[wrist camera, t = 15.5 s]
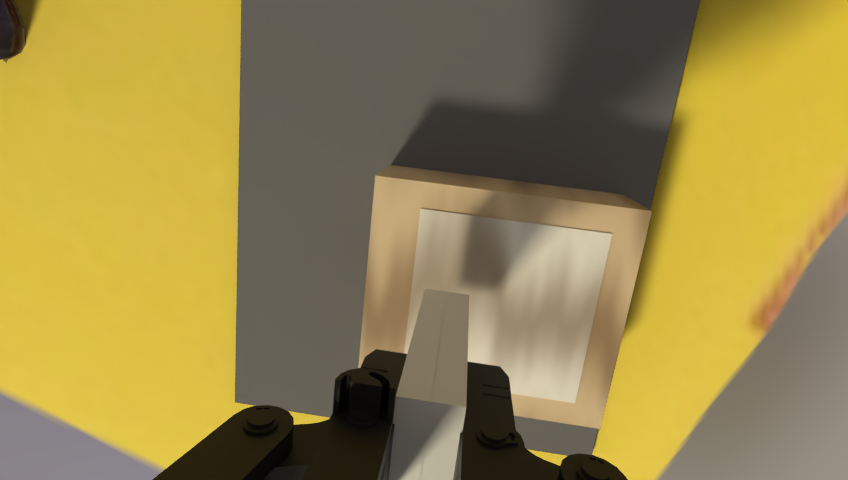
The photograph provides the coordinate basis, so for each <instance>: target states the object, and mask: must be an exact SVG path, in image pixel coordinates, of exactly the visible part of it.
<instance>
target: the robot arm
mask: <svg viewBox="0 0 848 480" xmlns="http://www.w3.org/2000/svg"><path fill="white" fill-rule="evenodd" d="M468 326H469V295H468V294H461V293H453V292H446V291H439V290H432V289H425V291H424V294H423V298H422V302H421V305H420V309H419V313H418V316H417V320H416V324H415V327H414V331H413V335H412V339H411V342H410V346H409V350H408V353H407V354H405V353H399V352H392V351H385V350H379V349H376V350H374V351H373V352H371V353H370V354H368V355H367V356H365V358H364V360H363V363H362V365H361V368H357V369H351V370H347V371H345V372H343V373H341V374H340V375H339V376H338V377H337V378H336V379H335V386H334V400H333V413H332V415H331V417H330V419H328V420H326V421H323V422H319V423H313V424H300V425H293V417H292V416H291V414H290V413H289V412H288V411H286V410H284V409H282V408H280V407H276V406H271V405H260V406H253V407H250V408H246V409H243V410H242V411H240V412H238V413H236V414H235V415H233V416H232V417H231V418H230V419H228V420H227V421H226V422H225V423H223V424H222V425H221V426H219V427H218V428H217V429H216V430H214V431H213V432H212V433H211V434H209V435H208V436H207V437H206V438H204V439H203V440H202V441H201V442H199V443H198V444H197V445H196V446H194V447H193V448H192V449H191V450H189V451H188V452H187V453H185V454H184V455H183V456H182V457H180V458H179V459H178V460H177V461H175V462H174V463H173V464H172V465H170V466H169V467H168V468H167V469H165V470H164V471H163V472H162V473H160V474H159V475H158V476H157V477H155V478H154V479H153V480H627V478H626V477H625V476H624V474H623V473H622V472H621V471H620V470H619V469H618V468H617V467H615V466H614V465H612V464H611V463H609V462H608V461H606V460H604V459H601V458H599V457H596V456H593V455H588V454H581V453H579V454H573V455H569V456H567V457H566V458H564V459H563V460H562V463H561V466H558V465H556V464H553V463H551V462H548V461H546V460H543V459H541V458H539V457H537V456H535V455H534V454H532V453H531V452H529V451H528V450H527V449H526V448H525V445H524V441H523V439H522V437H521V435H520V434H519V433H518V432H517V431H516V428H515V420H514V412H513V405H512V400H511V398H512V397H511V390H510V381H509V377H508V375H507V374H506V373H505V372H504V370H503V369H502V368H501V367H500V366H494V365H487V364H481V363H474V362H468Z"/></svg>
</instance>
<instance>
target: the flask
mask: <svg viewBox="0 0 848 480" xmlns="http://www.w3.org/2000/svg"><path fill="white" fill-rule="evenodd" d="M25 45H26V41H25V28H24V27H23V25H22V21H21V17H20V14H19V11H18V8H17V7H16V5H15V3H14V1H13V0H0V59H3V60H4V61H5V62H6V63H7V60H8V59H10V58H12V57H14V56H16V55H18V54H19V53H21V52H22V49H23V48H24V46H25Z"/></svg>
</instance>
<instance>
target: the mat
mask: <svg viewBox="0 0 848 480" xmlns="http://www.w3.org/2000/svg"><path fill="white" fill-rule="evenodd" d="M699 2H700V0H242V2H241V64H240V125H239V187H238V248H237V310H236V372H235V402H237V403H243V404H249V405H255V406H260V405H271V406H276V407H280V408H282V409H284V410H287V411H293V412H299V413H305V414H312V415H318V416H324V417H331V415H332V413H333V400H334V386H335V379H336V378H337V377H338V376H339V375H340V374H341V373H343V372H345V371H347V370H351V369H357V368H358V365H359V354H360V343H361V331H362V320H363V309H364V297H365V286H366V275H367V264H368V252H369V241H370V230H371V218H372V207H373V196H374V184H375V175H377V174H378V173H380V172H381V171H383V170H384V169H385V168H387V167H388V166H390V165H394V166H402V167H410V168H418V169H426V170H434V171H442V172H450V173H457V174H465V175H473V176H481V177H489V178H497V179H505V180H513V181H520V182H528V183H536V184H544V185H552V186H560V187H568V188H576V189H584V190H591V191H599V192H607V193H615V194H623V195H626V196H627V197H629V198H631V199H632V200H634V201H636V202H638V203H639V204H641V205H643V206H644V207H646V208H648V209H650V208H651V204H652V200H653V196H654V191H655V187H656V183H657V179H658V175H659V170H660V166H661V162H662V158H663V154H664V149H665V145H666V141H667V137H668V133H669V128H670V124H671V120H672V116H673V112H674V107H675V103H676V99H677V95H678V91H679V86H680V82H681V78H682V74H683V70H684V65H685V61H686V57H687V53H688V49H689V44H690V40H691V36H692V32H693V28H694V23H695V19H696V15H697V11H698V7H699ZM514 420H515V428H516V431H517V432H518V433H519V434H520V435H521V437H522V439H523V441H524V445H525V448H526V449H530V450H536V451H542V452H549V453H555V454H561V455H567V456H569V455H573V454H579V453H581V454H588V455H592V452H593V448H594V444H595V439H596V435H597V431H598V429H597V428H590V427H584V426H578V425H571V424H565V423H558V422H552V421H546V420H539V419H533V418H527V417H520V416H514Z"/></svg>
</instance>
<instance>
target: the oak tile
mask: <svg viewBox="0 0 848 480" xmlns="http://www.w3.org/2000/svg"><path fill="white" fill-rule="evenodd" d="M651 215H652V211H651V210H650V209H648V208H646V207H644V206H643V205H641V204H639V203H638V202H636V201H634V200H632V199H631V198H629V197H627V196H626V195H623V194H615V193H607V192H599V191H591V190H584V189H576V188H568V187H560V186H552V185H544V184H536V183H528V182H520V181H513V180H505V179H497V178H489V177H481V176H473V175H465V174H457V173H450V172H442V171H434V170H426V169H418V168H410V167H402V166H394V165H390V166H388V167H387V168H385V169H384V170H383V171H381V172H380V173H378V174H377V175H375V184H374V196H373V207H372V218H371V230H370V241H369V252H368V264H367V275H366V286H365V297H364V309H363V320H362V331H361V343H360V354H359V365H358V368H361V365H362V363H363V360H364V358H365V356H367V355H368V354H370V353H371V352H373V351H374V350H376V349H379V350H385V351H392V352H399V353H405V354H407V353H408V350H409V346H410V342H411V339H412V335H413V331H414V327H415V324H416V320H417V316H418V313H419V309H420V305H421V302H422V298H423V294H424V291H425V289H432V290H439V291H446V292H453V293H461V294H468V295H469V326H468V362H474V363H481V364H487V365H494V366H500V367H501V368H502V369H503V370H504V372H505V373H506V374H507V375H508V377H509V381H510V390H511V397H512V398H511V400H512V405H513V412H514V416H520V417H527V418H533V419H539V420H546V421H552V422H558V423H565V424H571V425H578V426H584V427H590V428H597V429H600V428H601V424H602V419H603V415H604V411H605V407H606V403H607V398H608V394H609V390H610V386H611V382H612V378H613V373H614V369H615V365H616V361H617V357H618V352H619V348H620V344H621V340H622V336H623V332H624V327H625V323H626V319H627V315H628V311H629V306H630V302H631V298H632V294H633V290H634V286H635V281H636V277H637V273H638V269H639V265H640V261H641V256H642V252H643V248H644V244H645V240H646V235H647V231H648V227H649V223H650V219H651Z"/></svg>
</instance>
